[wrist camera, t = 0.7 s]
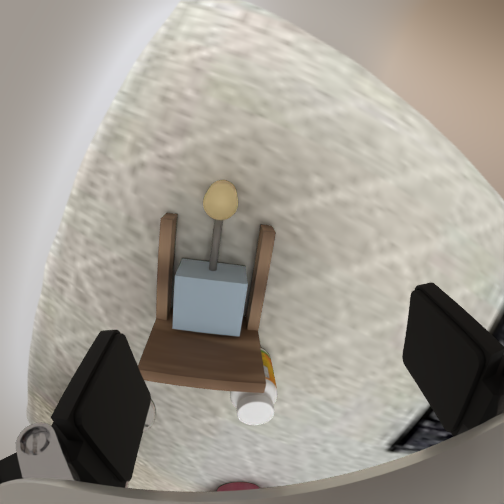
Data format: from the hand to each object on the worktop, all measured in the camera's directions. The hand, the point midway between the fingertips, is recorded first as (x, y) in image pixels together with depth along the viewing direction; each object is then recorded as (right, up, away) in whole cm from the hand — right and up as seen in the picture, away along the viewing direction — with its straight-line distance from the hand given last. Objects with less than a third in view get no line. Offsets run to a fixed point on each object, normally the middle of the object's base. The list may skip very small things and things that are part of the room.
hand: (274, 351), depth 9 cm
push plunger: (-5, +3, +25) cm, 25 cm away
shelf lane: (-5, +1, +26) cm, 26 cm away
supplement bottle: (-1, -11, +30) cm, 32 cm away
